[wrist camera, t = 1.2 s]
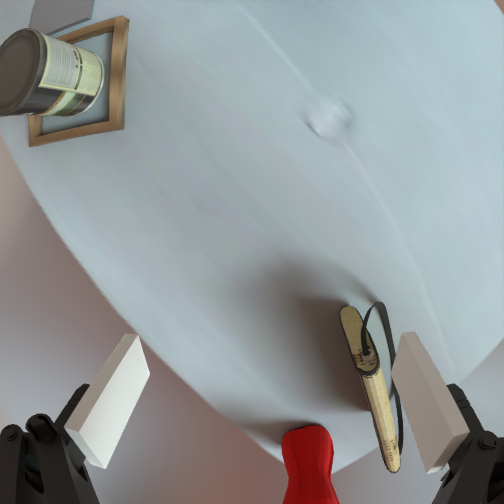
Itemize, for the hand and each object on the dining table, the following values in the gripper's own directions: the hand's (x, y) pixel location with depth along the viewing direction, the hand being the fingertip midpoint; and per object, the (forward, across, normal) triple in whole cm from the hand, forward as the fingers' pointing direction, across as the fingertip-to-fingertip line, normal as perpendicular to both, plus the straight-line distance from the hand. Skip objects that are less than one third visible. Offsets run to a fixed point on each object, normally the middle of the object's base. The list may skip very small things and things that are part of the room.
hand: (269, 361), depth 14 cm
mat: (+26, -31, +39) cm, 56 cm away
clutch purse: (+26, +16, -23) cm, 38 cm away
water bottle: (+25, +7, -44) cm, 51 cm away
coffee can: (+26, -27, +22) cm, 43 cm away
